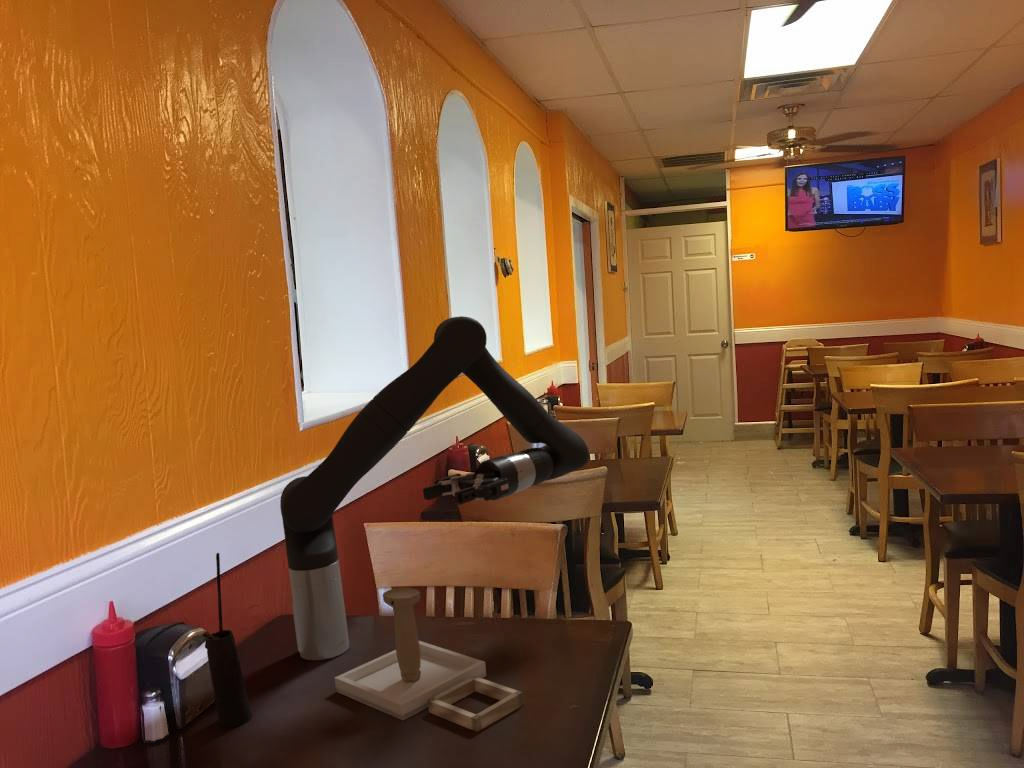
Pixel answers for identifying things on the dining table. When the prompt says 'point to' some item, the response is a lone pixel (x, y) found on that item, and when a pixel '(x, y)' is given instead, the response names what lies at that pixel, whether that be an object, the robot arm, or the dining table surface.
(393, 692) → the tray
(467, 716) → the wooden square frame
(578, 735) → the dining table surface
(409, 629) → the handle
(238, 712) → the butter churn
